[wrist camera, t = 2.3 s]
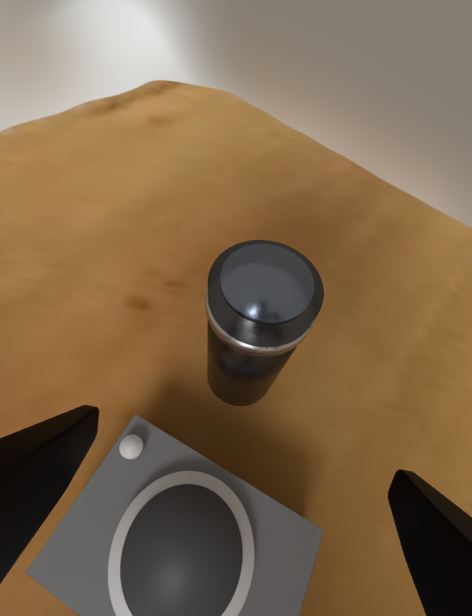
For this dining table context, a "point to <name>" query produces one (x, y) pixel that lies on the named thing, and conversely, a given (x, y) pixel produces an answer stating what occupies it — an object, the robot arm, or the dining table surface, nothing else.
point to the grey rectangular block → (175, 539)
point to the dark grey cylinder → (257, 316)
